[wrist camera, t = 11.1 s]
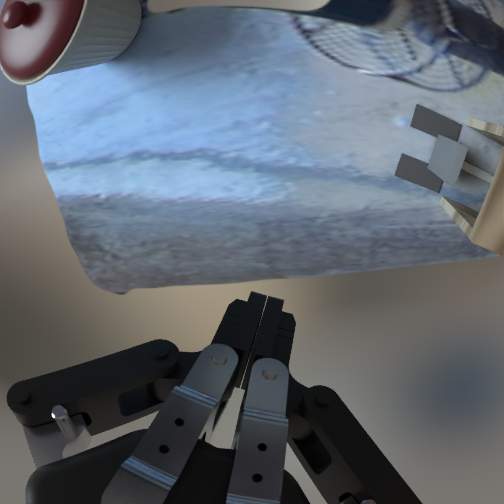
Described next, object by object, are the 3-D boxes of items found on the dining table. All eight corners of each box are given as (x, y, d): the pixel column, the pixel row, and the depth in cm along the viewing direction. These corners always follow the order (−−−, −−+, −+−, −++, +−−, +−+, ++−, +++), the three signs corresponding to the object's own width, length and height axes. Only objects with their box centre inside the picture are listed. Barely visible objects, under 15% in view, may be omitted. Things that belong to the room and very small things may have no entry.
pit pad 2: (401, 153, 37) (402, 153, 37) (445, 171, 36) (445, 171, 36) (394, 175, 38) (394, 175, 38) (437, 192, 38) (438, 192, 38)
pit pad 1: (416, 104, 33) (417, 104, 33) (460, 124, 33) (461, 124, 32) (410, 125, 35) (411, 126, 35) (454, 145, 34) (454, 145, 34)
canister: (165, -36, 29) (73, -83, 11) (160, 68, 38) (53, 68, 20) (74, -6, 32) (-22, -17, 14) (70, 85, 41) (-31, 105, 23)
